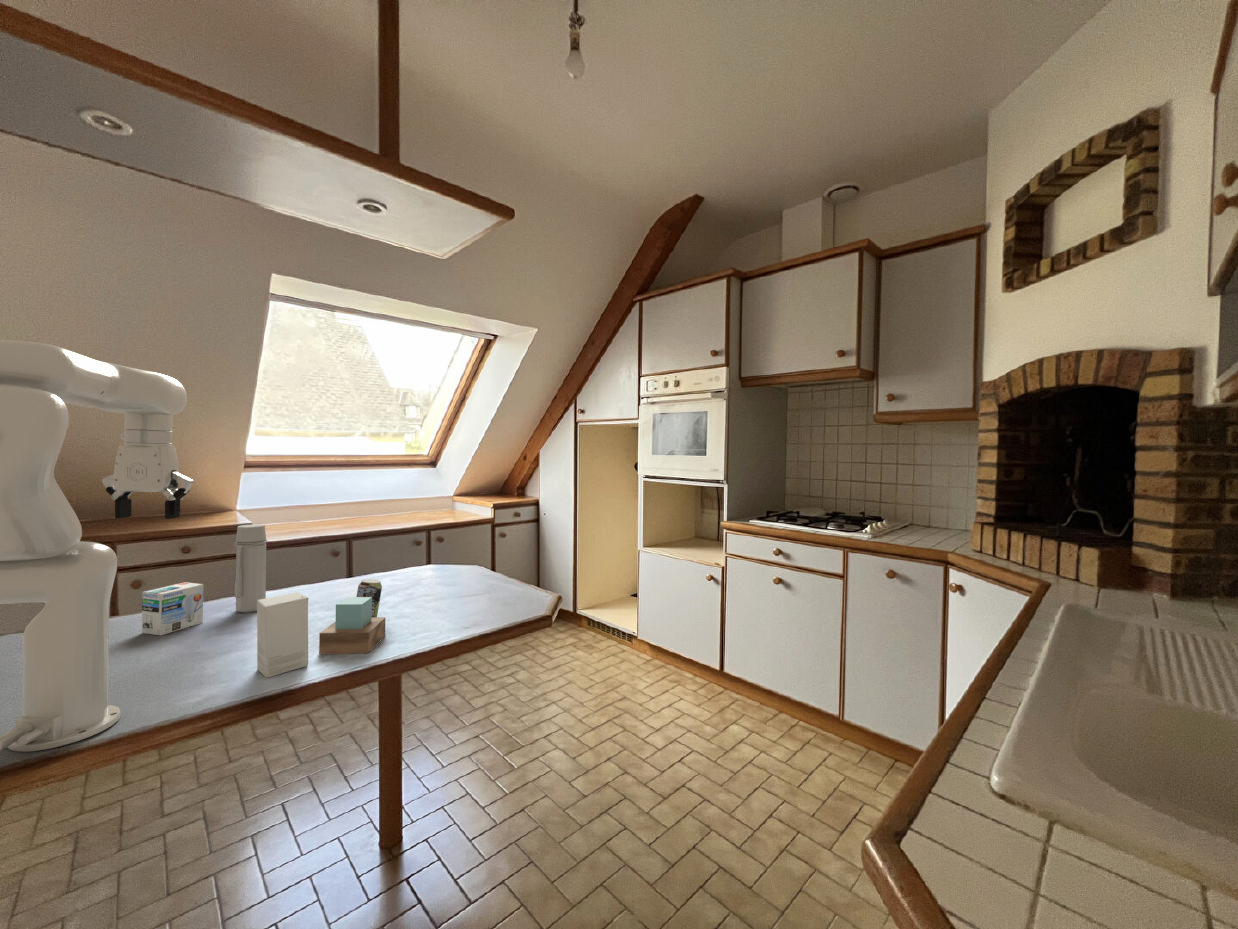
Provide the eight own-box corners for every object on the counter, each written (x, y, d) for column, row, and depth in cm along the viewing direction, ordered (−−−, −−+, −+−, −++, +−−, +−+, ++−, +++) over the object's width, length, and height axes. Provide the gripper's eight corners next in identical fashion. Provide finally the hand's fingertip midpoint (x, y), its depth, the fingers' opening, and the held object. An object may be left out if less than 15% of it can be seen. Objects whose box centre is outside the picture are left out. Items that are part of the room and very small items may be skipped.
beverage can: (347, 624, 135) (348, 581, 135) (371, 617, 142) (372, 576, 141) (362, 629, 132) (362, 584, 132) (386, 621, 139) (386, 579, 138)
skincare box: (298, 658, 113) (300, 591, 112) (309, 667, 108) (310, 597, 108) (254, 670, 106) (255, 598, 106) (264, 679, 102) (265, 605, 102)
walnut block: (368, 653, 116) (368, 632, 116) (319, 654, 115) (319, 633, 115) (385, 636, 127) (385, 617, 127) (340, 637, 126) (340, 617, 126)
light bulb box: (160, 636, 124) (161, 593, 123) (140, 633, 125) (140, 591, 125) (204, 622, 134) (205, 583, 134) (184, 620, 135) (185, 581, 135)
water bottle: (247, 605, 149) (248, 523, 149) (272, 606, 149) (273, 524, 149) (222, 615, 140) (223, 528, 140) (248, 616, 140) (249, 528, 139)
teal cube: (361, 629, 118) (361, 604, 118) (335, 629, 118) (335, 604, 118) (371, 620, 124) (371, 597, 124) (346, 620, 124) (347, 597, 124)
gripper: (87, 437, 102) (86, 519, 102) (178, 439, 103) (177, 520, 104) (120, 438, 109) (119, 515, 109) (204, 440, 111) (203, 516, 111)
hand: (147, 517), depth 107 cm, fingers open, 9 cm apart
